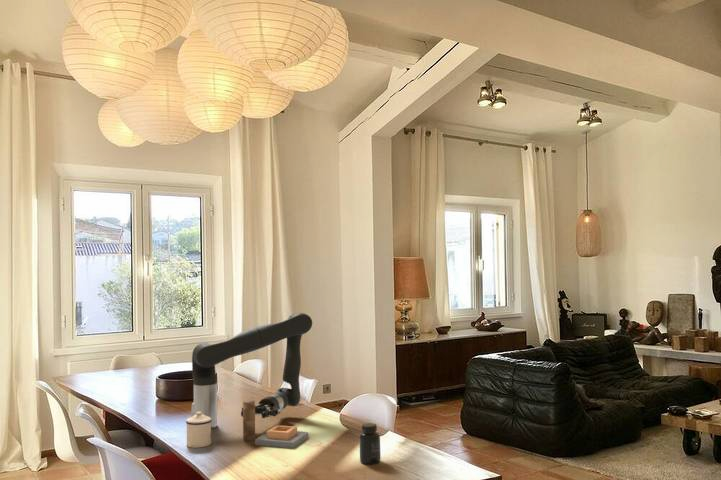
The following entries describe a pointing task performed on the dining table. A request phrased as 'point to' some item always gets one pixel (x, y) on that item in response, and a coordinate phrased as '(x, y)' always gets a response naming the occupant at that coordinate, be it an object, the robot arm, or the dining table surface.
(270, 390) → the dining table surface
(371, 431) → the supplement bottle
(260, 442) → the collar base
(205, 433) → the teacup with lid
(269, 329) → the robot arm
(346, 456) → the dining table surface
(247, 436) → the walnut peg
